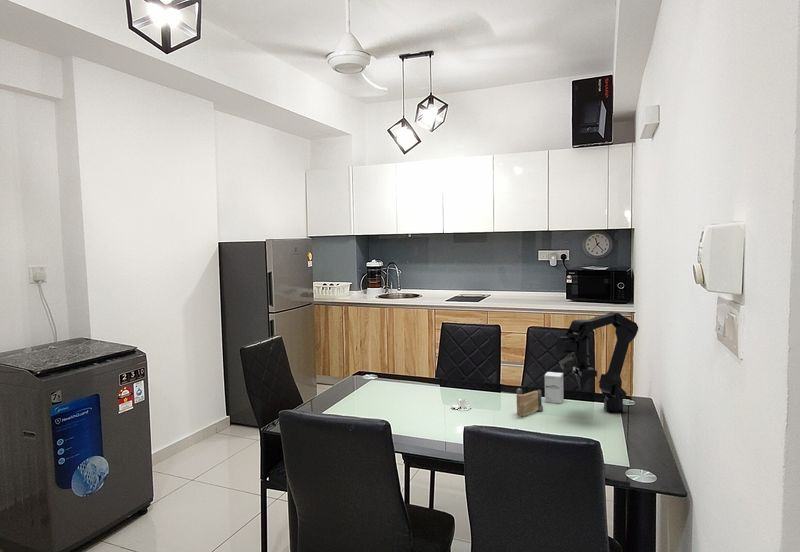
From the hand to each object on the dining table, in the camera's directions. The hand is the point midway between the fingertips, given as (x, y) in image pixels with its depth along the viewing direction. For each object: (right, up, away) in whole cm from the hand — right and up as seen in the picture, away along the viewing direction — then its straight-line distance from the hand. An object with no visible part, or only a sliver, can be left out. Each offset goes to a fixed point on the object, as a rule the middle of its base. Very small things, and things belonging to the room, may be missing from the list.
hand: (581, 388), depth 205 cm
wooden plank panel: (-19, -11, +7) cm, 24 cm away
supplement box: (-4, -11, +24) cm, 26 cm away
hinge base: (-14, -12, +11) cm, 22 cm away
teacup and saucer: (-48, -14, +22) cm, 54 cm away
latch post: (-24, -13, +7) cm, 28 cm away
